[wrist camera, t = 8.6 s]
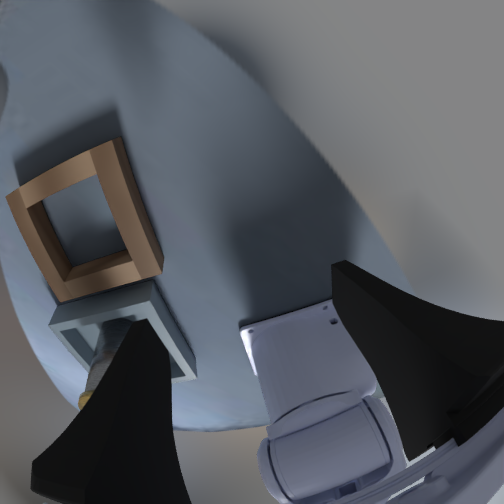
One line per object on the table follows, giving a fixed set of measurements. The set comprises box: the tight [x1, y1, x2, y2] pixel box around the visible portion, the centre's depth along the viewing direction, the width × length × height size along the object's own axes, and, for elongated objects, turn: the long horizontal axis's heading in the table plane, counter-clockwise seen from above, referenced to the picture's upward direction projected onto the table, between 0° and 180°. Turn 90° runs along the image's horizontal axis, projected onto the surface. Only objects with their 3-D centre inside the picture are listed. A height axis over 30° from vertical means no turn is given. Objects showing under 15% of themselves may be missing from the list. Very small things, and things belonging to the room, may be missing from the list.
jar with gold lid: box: [78, 318, 133, 410], centre depth 17 cm, size 5×5×8 cm
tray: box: [48, 280, 197, 383], centre depth 21 cm, size 10×10×2 cm
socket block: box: [6, 136, 164, 302], centre depth 15 cm, size 9×9×2 cm
